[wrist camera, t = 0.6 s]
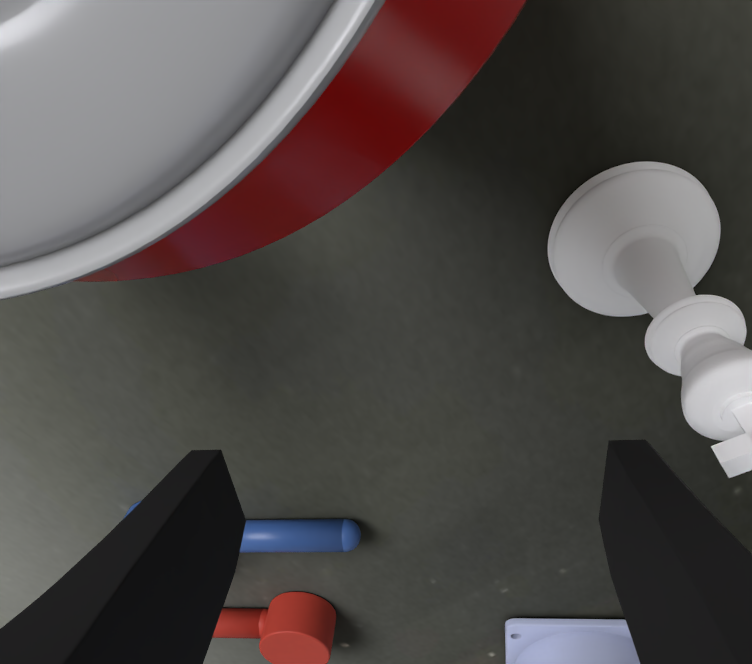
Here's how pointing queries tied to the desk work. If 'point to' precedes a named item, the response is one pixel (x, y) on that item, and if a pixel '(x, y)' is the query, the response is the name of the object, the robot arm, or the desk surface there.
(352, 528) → the blue spoon
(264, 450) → the desk surface
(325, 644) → the red spoon
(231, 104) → the soda can
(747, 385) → the chess piece
